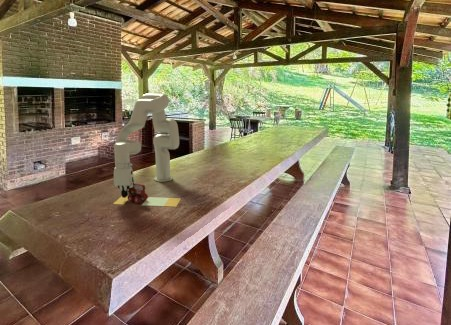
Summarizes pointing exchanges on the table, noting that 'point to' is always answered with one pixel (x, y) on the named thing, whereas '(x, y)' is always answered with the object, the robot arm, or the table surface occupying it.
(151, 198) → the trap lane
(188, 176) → the table surface
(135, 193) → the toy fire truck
